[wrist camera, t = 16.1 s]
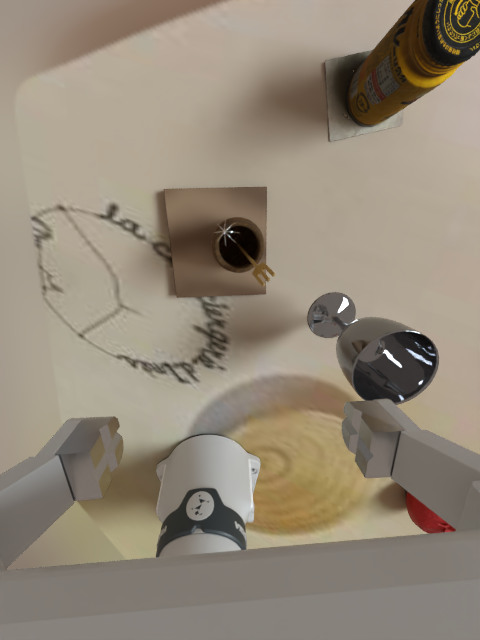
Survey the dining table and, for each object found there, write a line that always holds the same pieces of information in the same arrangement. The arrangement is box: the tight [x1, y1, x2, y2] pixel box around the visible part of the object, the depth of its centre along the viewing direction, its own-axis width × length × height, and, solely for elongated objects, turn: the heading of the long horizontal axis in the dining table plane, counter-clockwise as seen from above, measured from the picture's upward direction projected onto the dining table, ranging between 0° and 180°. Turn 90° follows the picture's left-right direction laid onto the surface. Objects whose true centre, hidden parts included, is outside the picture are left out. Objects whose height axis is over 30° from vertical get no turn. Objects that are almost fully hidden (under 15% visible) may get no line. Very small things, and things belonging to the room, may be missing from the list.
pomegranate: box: [406, 492, 456, 534], centre depth 47 cm, size 10×10×9 cm
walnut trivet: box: [164, 187, 267, 298], centre depth 32 cm, size 13×12×1 cm
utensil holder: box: [211, 217, 275, 287], centre depth 26 cm, size 6×6×12 cm
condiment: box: [325, 0, 480, 142], centre depth 22 cm, size 7×8×12 cm
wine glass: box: [308, 292, 439, 405], centre depth 30 cm, size 8×8×15 cm
